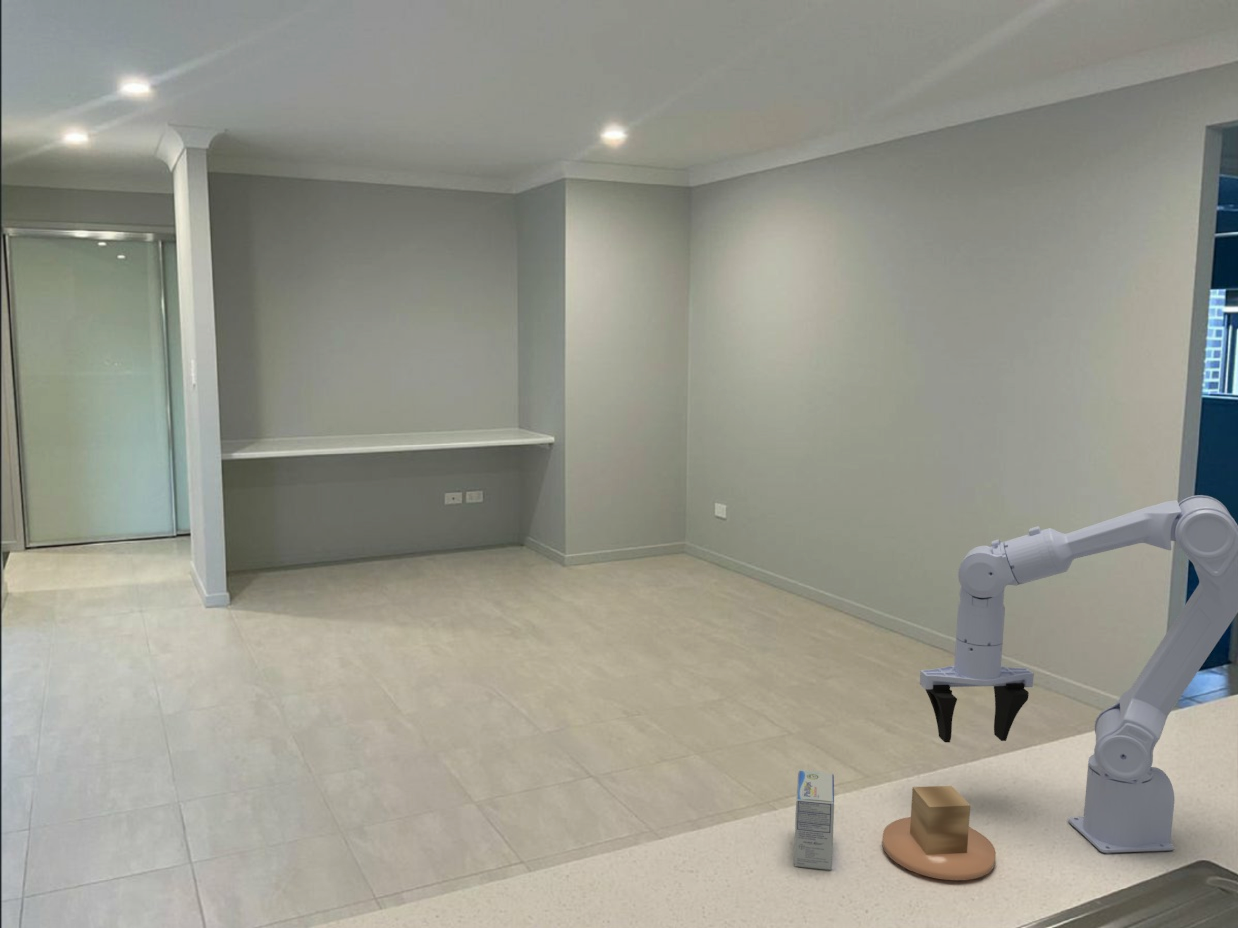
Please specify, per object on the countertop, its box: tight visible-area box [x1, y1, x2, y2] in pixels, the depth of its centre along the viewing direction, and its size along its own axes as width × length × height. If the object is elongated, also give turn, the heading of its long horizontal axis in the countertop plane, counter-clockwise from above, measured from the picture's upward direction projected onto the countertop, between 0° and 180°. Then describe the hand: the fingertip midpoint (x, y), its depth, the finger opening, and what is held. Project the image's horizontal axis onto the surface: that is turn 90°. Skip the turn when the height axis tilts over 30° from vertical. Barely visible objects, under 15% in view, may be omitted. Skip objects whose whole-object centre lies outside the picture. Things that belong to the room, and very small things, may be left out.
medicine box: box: [794, 770, 835, 871], centre depth 120 cm, size 8×4×9 cm, turn 168°
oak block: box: [910, 785, 971, 855], centre depth 120 cm, size 5×5×6 cm
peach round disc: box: [881, 816, 997, 881], centre depth 120 cm, size 13×13×1 cm
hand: (972, 738), depth 131 cm, fingers open, 7 cm apart
